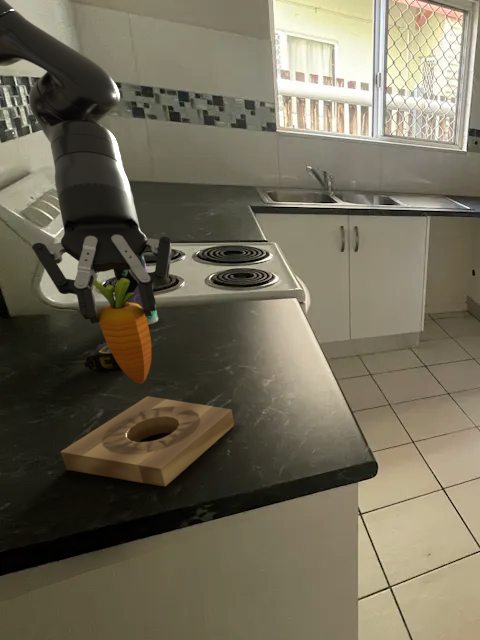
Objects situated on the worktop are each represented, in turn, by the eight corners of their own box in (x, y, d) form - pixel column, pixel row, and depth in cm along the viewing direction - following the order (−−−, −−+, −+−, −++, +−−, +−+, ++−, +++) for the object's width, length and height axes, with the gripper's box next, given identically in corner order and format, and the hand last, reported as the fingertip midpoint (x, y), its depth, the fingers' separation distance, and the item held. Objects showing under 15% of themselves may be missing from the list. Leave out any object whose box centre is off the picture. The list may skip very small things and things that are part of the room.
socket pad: (66, 470, 62) (59, 451, 61) (151, 412, 75) (147, 396, 74) (165, 487, 61) (160, 468, 60) (234, 425, 74) (231, 409, 73)
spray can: (134, 328, 100) (110, 234, 92) (122, 320, 103) (98, 229, 94) (163, 321, 104) (142, 230, 96) (151, 314, 107) (130, 225, 98)
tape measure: (104, 356, 89) (98, 338, 87) (147, 354, 91) (142, 337, 89) (87, 374, 83) (81, 355, 81) (133, 372, 85) (128, 353, 83)
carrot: (108, 386, 63) (74, 279, 56) (146, 370, 67) (119, 269, 60) (134, 397, 61) (102, 287, 55) (171, 380, 65) (146, 276, 59)
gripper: (10, 180, 55) (33, 314, 51) (161, 181, 63) (189, 296, 59) (30, 217, 60) (52, 338, 57) (165, 213, 69) (191, 319, 65)
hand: (121, 316), depth 58 cm, fingers closed on carrot, 4 cm apart
